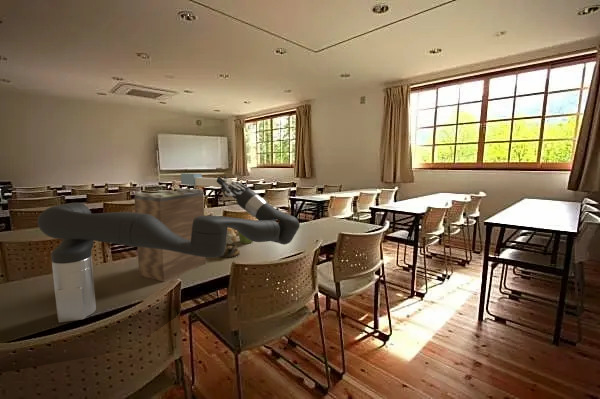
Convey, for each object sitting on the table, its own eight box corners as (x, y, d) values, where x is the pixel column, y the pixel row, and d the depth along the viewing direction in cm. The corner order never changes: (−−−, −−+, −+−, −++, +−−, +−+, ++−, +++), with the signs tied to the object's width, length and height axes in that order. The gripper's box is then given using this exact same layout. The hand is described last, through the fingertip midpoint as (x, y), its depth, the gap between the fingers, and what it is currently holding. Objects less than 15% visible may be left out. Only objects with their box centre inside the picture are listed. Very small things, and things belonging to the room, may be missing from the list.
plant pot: (258, 244, 162) (257, 224, 161) (236, 245, 159) (235, 225, 158) (256, 238, 173) (256, 220, 172) (235, 239, 171) (235, 220, 169)
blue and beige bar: (233, 186, 115) (232, 175, 115) (225, 187, 111) (225, 175, 111) (189, 183, 125) (189, 173, 124) (181, 184, 121) (180, 173, 120)
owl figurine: (207, 250, 150) (206, 217, 148) (228, 246, 158) (228, 215, 156) (222, 260, 137) (222, 224, 134) (245, 255, 144) (245, 221, 142)
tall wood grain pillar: (205, 263, 132) (203, 189, 127) (163, 281, 112) (159, 195, 107) (182, 258, 137) (179, 188, 133) (139, 275, 118) (134, 192, 113)
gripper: (267, 193, 114) (235, 170, 120) (245, 197, 102) (211, 171, 107) (259, 209, 117) (228, 185, 122) (237, 214, 104) (204, 188, 110)
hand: (221, 178), depth 115 cm, fingers closed on blue and beige bar, 3 cm apart
